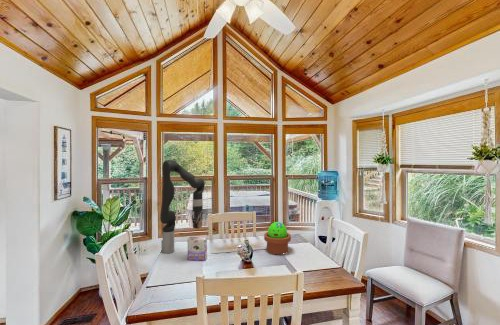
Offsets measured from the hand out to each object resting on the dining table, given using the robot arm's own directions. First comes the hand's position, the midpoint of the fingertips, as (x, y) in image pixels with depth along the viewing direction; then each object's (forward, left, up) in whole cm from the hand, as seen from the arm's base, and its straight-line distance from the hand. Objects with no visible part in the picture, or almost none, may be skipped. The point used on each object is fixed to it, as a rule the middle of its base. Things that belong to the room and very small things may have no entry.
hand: (197, 226), depth 188 cm
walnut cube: (0, 0, 0) cm, 0 cm away
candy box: (0, 0, -25) cm, 25 cm away
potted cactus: (+57, +32, -25) cm, 70 cm away
